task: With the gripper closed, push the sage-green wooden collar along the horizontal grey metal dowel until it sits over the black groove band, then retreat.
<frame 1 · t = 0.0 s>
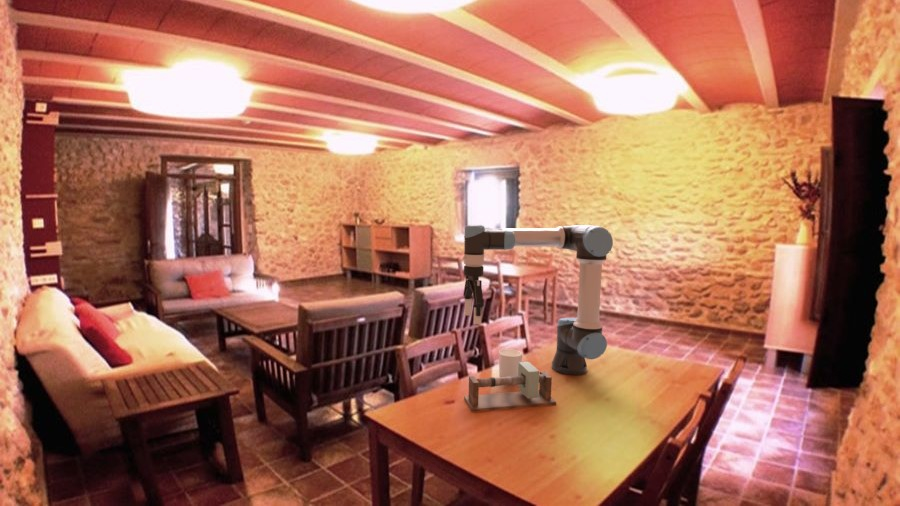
hand: (472, 319, 173), 28 cm above the table, fingers open, 13 cm apart
candle holder: (509, 381, 185), on the table
dowel stand: (509, 401, 165), on the table
collar: (527, 400, 167), resting on dowel stand, slide at -7.0 cm
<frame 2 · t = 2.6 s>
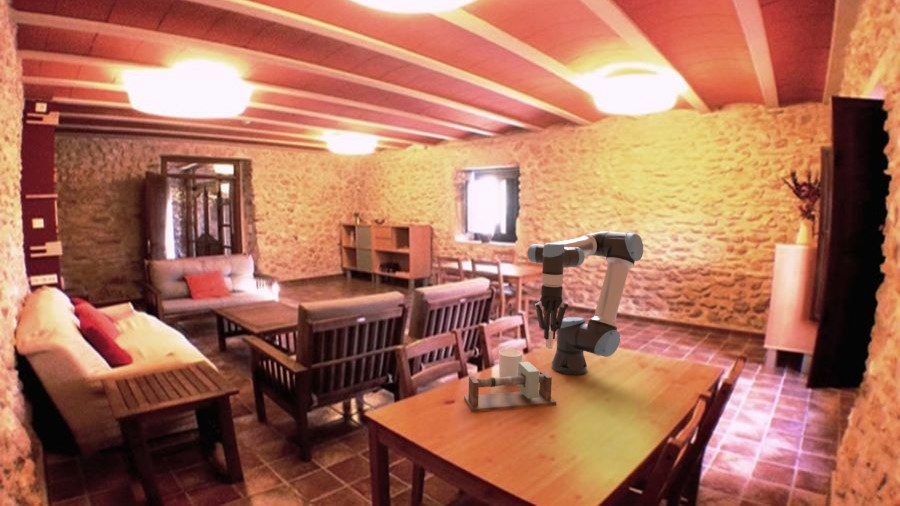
hand: (549, 347, 166), 20 cm above the table, fingers closed
nothing on the table moved.
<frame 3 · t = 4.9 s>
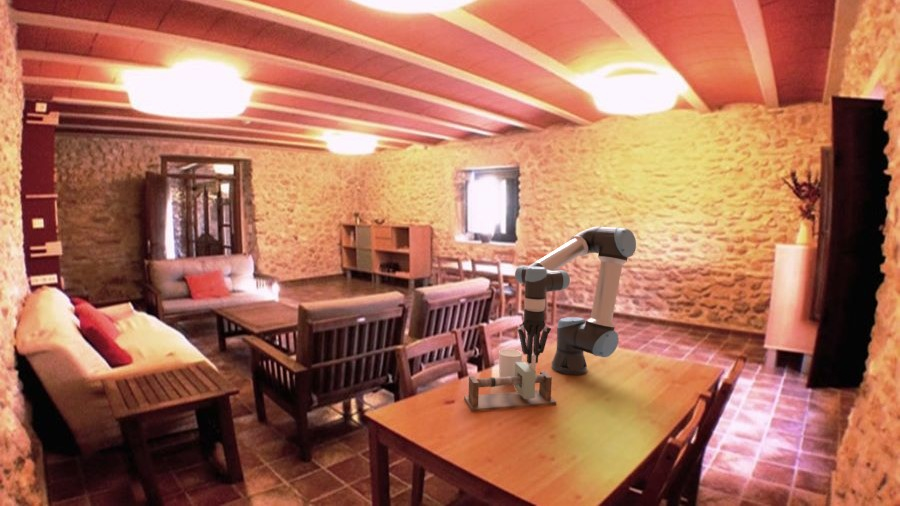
hand: (531, 371, 166), 11 cm above the table, fingers closed
collar: (523, 400, 167), resting on dowel stand, slide at -5.6 cm, touching gripper
everything else where it was.
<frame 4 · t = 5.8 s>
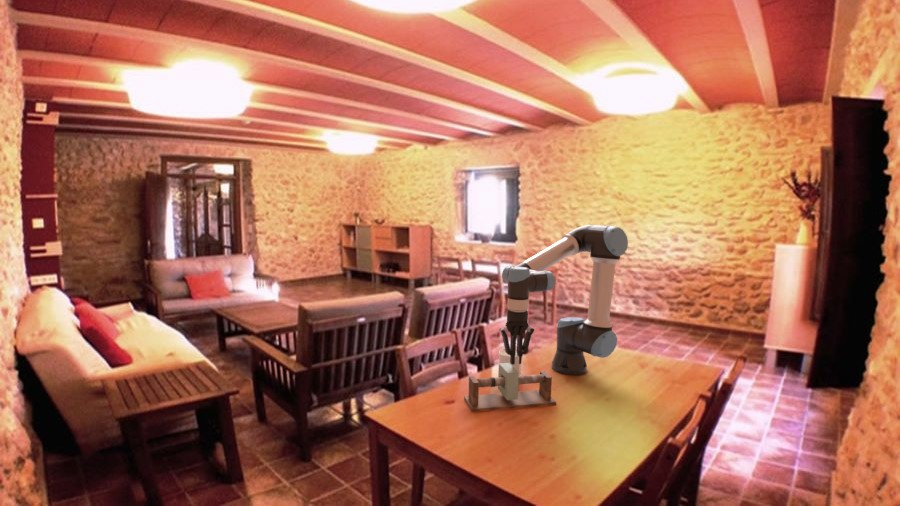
hand: (515, 372, 164), 11 cm above the table, fingers closed
collar: (507, 401, 165), resting on dowel stand, slide at 0.9 cm, touching gripper
everything else where it was.
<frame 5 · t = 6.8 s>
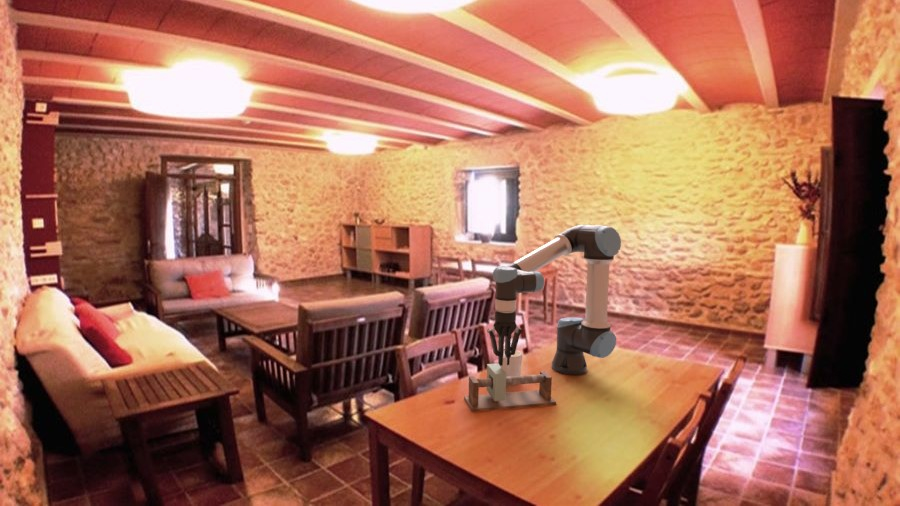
hand: (503, 373, 163), 11 cm above the table, fingers closed
collar: (495, 402, 164), resting on dowel stand, slide at 5.5 cm, touching gripper
everything else where it was.
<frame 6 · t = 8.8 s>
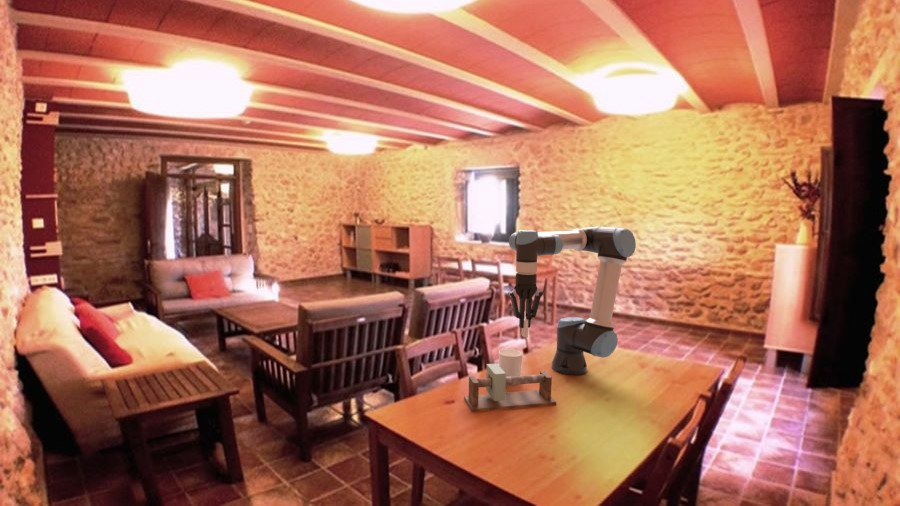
hand: (524, 336, 164), 24 cm above the table, fingers closed
collar: (494, 402, 164), resting on dowel stand, slide at 5.7 cm
everything else where it was.
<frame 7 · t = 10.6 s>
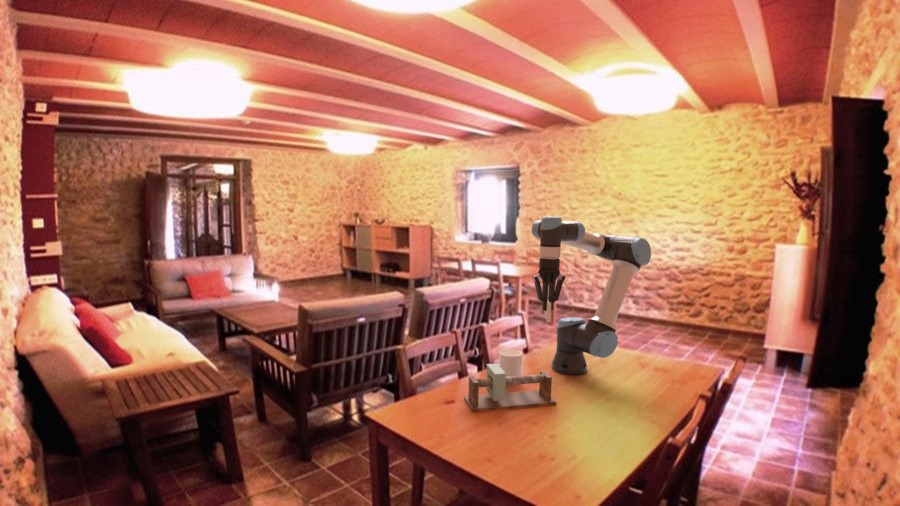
hand: (547, 318, 170), 29 cm above the table, fingers closed
nothing on the table moved.
at the end: collar slide at 5.7 cm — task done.
